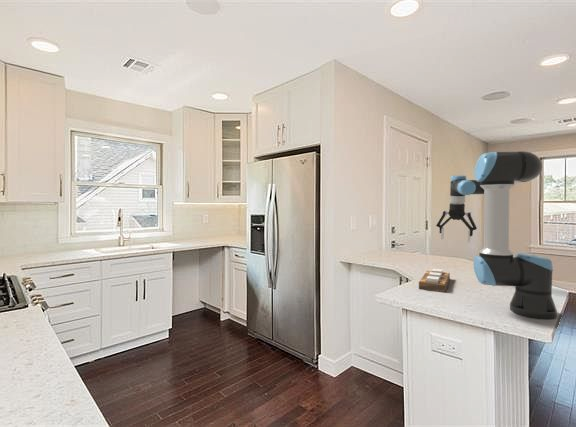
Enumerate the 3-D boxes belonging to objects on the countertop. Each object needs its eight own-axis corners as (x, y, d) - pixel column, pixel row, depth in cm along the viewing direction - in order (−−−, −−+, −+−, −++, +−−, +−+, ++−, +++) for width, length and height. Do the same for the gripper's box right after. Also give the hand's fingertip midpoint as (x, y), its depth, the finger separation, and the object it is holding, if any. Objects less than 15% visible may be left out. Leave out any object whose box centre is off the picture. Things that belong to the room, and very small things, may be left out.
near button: (438, 284, 162) (438, 279, 162) (426, 283, 165) (426, 278, 165) (439, 282, 167) (439, 277, 167) (427, 281, 169) (427, 275, 169)
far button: (441, 276, 179) (442, 271, 179) (431, 275, 182) (431, 270, 182) (442, 274, 184) (442, 269, 184) (432, 273, 187) (432, 268, 187)
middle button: (440, 280, 171) (440, 275, 171) (429, 279, 173) (429, 274, 173) (441, 278, 175) (441, 273, 175) (430, 276, 178) (430, 272, 178)
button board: (444, 292, 158) (444, 284, 158) (418, 289, 165) (418, 281, 164) (449, 279, 184) (449, 272, 184) (426, 276, 190) (427, 270, 190)
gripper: (484, 203, 175) (481, 241, 179) (434, 201, 190) (433, 236, 194) (482, 205, 170) (479, 244, 173) (431, 202, 184) (430, 239, 188)
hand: (455, 240), depth 183 cm, fingers open, 13 cm apart
